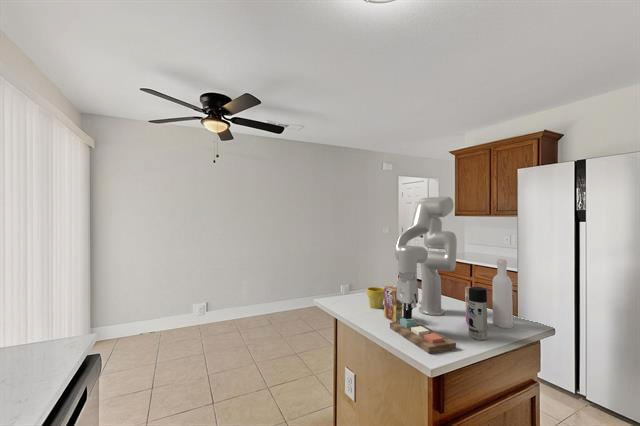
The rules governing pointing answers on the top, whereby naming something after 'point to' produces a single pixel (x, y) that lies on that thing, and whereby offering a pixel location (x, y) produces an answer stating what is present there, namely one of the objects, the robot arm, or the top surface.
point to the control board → (421, 341)
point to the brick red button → (433, 338)
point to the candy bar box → (467, 303)
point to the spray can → (478, 313)
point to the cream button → (419, 330)
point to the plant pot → (375, 296)
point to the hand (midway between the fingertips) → (407, 318)
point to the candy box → (392, 304)
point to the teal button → (408, 323)
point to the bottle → (502, 297)
